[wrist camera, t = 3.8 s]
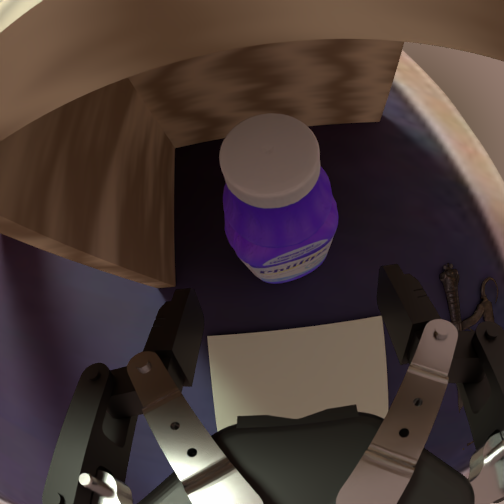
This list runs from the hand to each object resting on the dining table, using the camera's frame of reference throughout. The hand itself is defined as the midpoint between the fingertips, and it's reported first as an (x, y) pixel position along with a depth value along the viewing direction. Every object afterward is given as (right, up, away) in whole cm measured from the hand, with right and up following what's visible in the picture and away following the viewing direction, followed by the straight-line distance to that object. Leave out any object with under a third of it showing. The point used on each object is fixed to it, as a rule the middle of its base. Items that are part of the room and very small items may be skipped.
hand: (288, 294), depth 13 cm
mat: (+3, -12, +12) cm, 17 cm away
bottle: (+2, +2, +16) cm, 16 cm away
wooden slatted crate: (+1, +8, +17) cm, 19 cm away
